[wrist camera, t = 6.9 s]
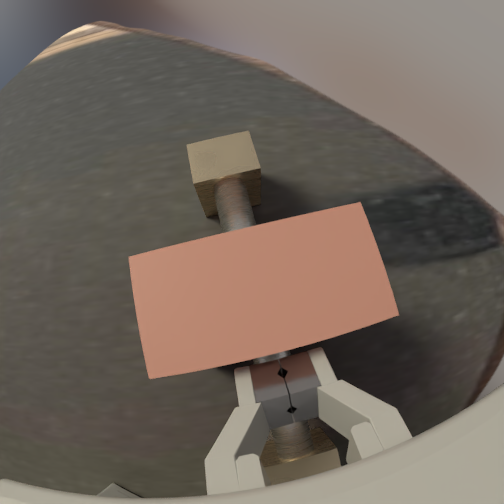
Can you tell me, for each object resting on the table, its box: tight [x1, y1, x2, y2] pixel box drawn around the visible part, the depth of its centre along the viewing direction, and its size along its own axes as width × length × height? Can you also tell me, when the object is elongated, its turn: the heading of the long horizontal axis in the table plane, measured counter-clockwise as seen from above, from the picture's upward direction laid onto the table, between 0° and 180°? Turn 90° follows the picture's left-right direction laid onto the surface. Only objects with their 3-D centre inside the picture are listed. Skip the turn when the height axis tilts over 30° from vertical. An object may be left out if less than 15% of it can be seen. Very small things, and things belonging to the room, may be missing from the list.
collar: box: [129, 202, 399, 379], centre depth 14 cm, size 4×8×10 cm, turn 104°
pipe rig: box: [187, 131, 341, 485], centre depth 17 cm, size 22×4×5 cm, turn 14°
